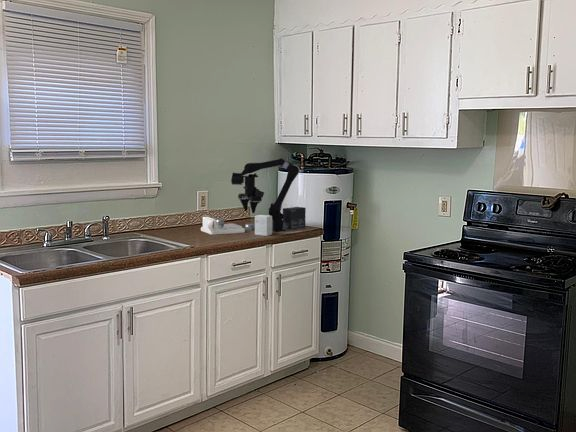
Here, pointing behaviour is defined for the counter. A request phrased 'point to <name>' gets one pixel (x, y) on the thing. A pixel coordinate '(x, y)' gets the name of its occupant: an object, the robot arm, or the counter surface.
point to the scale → (212, 227)
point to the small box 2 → (294, 217)
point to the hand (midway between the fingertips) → (249, 212)
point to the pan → (229, 226)
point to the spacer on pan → (220, 222)
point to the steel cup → (249, 226)
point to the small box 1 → (263, 225)
